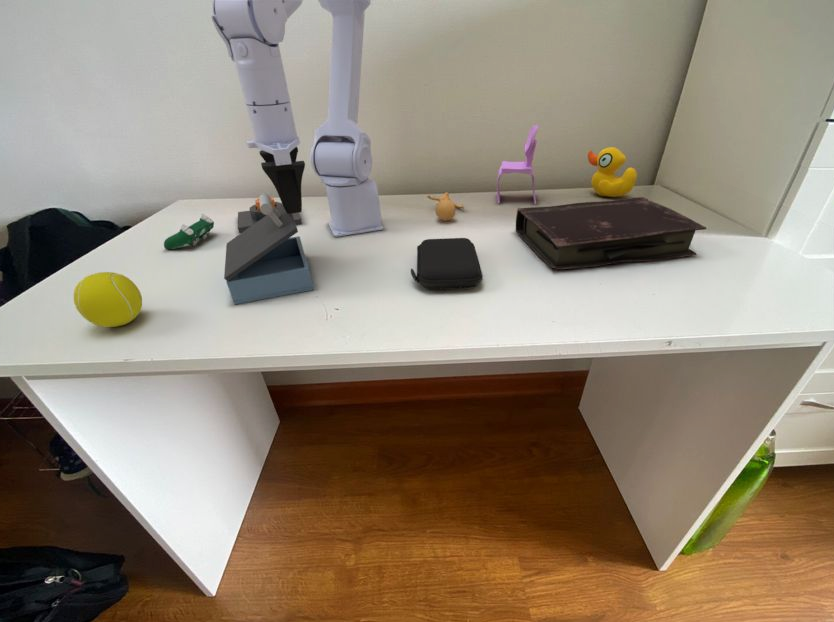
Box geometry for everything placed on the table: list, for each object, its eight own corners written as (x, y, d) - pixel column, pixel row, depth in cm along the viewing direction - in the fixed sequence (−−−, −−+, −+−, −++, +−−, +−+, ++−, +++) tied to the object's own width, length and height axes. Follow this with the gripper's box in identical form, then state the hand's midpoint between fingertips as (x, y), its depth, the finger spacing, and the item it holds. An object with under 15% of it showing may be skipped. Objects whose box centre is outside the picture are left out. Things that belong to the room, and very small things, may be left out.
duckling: (576, 194, 97) (584, 147, 91) (585, 188, 100) (594, 142, 94) (626, 203, 91) (638, 153, 85) (634, 196, 94) (647, 148, 88)
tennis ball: (86, 342, 53) (54, 293, 49) (97, 315, 58) (69, 269, 54) (148, 328, 55) (123, 281, 51) (153, 304, 60) (131, 259, 56)
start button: (275, 204, 87) (273, 196, 86) (276, 209, 85) (274, 201, 84) (257, 207, 86) (254, 198, 85) (257, 212, 84) (255, 203, 83)
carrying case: (411, 253, 73) (410, 295, 61) (410, 236, 71) (409, 276, 59) (473, 250, 73) (483, 292, 61) (473, 233, 71) (484, 273, 59)
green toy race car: (178, 260, 77) (190, 240, 73) (159, 245, 75) (171, 224, 72) (209, 241, 84) (221, 221, 80) (193, 227, 83) (204, 207, 79)
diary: (513, 231, 79) (516, 205, 76) (634, 219, 83) (641, 193, 80) (554, 275, 65) (559, 244, 62) (699, 258, 68) (710, 228, 65)
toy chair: (496, 193, 98) (501, 122, 89) (534, 194, 97) (543, 122, 88) (495, 205, 92) (500, 129, 83) (536, 206, 91) (545, 129, 82)
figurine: (427, 200, 80) (433, 171, 88) (419, 226, 85) (425, 196, 92) (468, 213, 81) (470, 183, 89) (458, 238, 86) (461, 207, 94)
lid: (289, 203, 67) (270, 179, 64) (298, 231, 57) (276, 204, 54) (229, 246, 68) (207, 224, 65) (227, 281, 58) (201, 257, 55)
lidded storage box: (303, 256, 73) (299, 236, 71) (313, 290, 63) (308, 268, 61) (235, 267, 70) (228, 246, 68) (234, 304, 60) (226, 282, 58)
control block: (296, 209, 93) (293, 196, 91) (301, 224, 85) (298, 209, 83) (239, 217, 89) (235, 203, 88) (239, 233, 82) (234, 218, 80)
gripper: (237, 99, 61) (262, 194, 69) (236, 112, 50) (267, 224, 58) (287, 95, 62) (306, 189, 71) (297, 107, 52) (318, 216, 60)
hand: (291, 204), depth 64 cm, fingers open, 7 cm apart
